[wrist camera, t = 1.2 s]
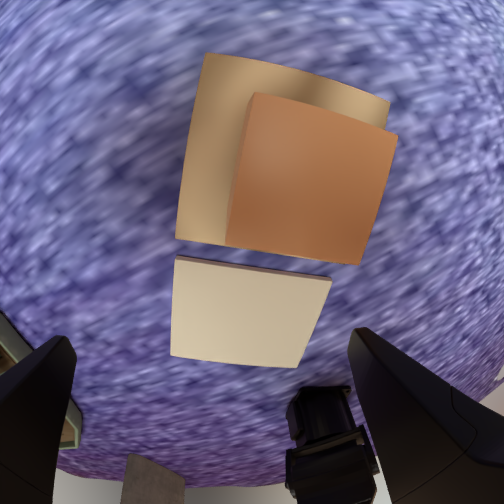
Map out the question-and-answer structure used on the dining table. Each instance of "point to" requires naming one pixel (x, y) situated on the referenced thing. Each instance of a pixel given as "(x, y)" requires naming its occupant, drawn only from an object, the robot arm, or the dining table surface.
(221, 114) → the post stand
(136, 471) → the hip flask
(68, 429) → the tea set
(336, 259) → the orange cube
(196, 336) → the pad
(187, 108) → the dining table surface
